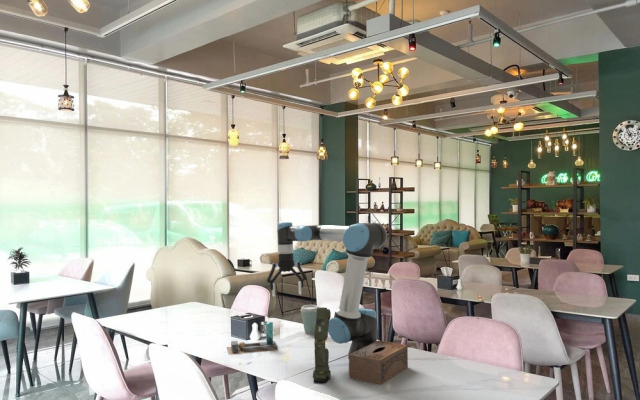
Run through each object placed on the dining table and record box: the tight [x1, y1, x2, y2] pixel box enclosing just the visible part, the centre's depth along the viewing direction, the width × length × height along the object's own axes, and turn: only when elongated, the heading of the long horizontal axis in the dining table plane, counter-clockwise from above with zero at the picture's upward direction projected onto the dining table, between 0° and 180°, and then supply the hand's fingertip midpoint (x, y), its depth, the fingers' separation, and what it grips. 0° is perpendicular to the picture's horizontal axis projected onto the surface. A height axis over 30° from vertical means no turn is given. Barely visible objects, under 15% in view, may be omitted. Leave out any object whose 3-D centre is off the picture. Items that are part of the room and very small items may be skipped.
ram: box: [259, 321, 277, 346], centre depth 244 cm, size 8×4×11 cm, turn 105°
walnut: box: [238, 341, 246, 350], centre depth 240 cm, size 4×4×4 cm
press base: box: [226, 340, 279, 356], centre depth 241 cm, size 24×13×5 cm, turn 105°
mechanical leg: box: [312, 306, 332, 385], centre depth 203 cm, size 14×7×30 cm, turn 168°
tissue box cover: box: [348, 339, 409, 386], centre depth 208 cm, size 26×14×10 cm, turn 145°
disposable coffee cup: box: [300, 304, 319, 335], centre depth 276 cm, size 11×11×15 cm
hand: (287, 295), depth 245 cm, fingers open, 13 cm apart
